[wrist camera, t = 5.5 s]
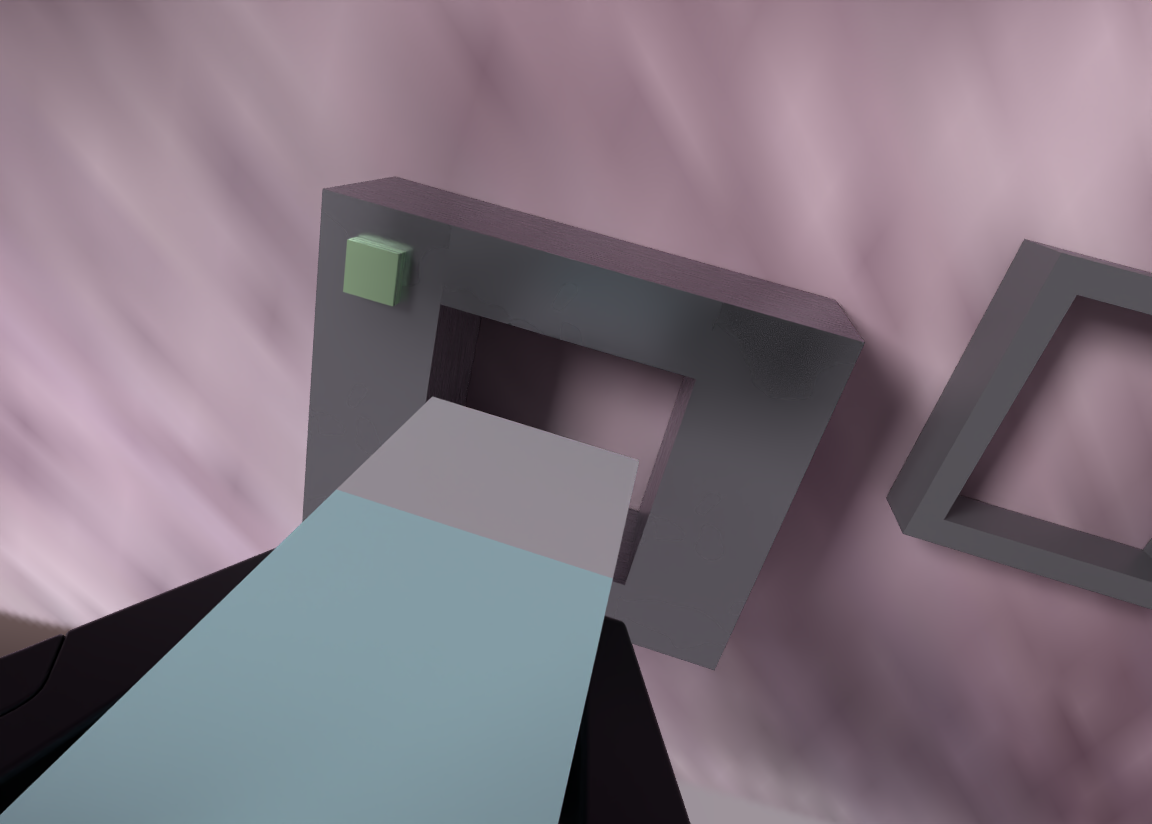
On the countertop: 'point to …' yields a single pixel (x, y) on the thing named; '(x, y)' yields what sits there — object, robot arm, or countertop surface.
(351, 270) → the socket
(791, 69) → the countertop surface
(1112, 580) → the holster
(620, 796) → the robot arm
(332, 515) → the plug
